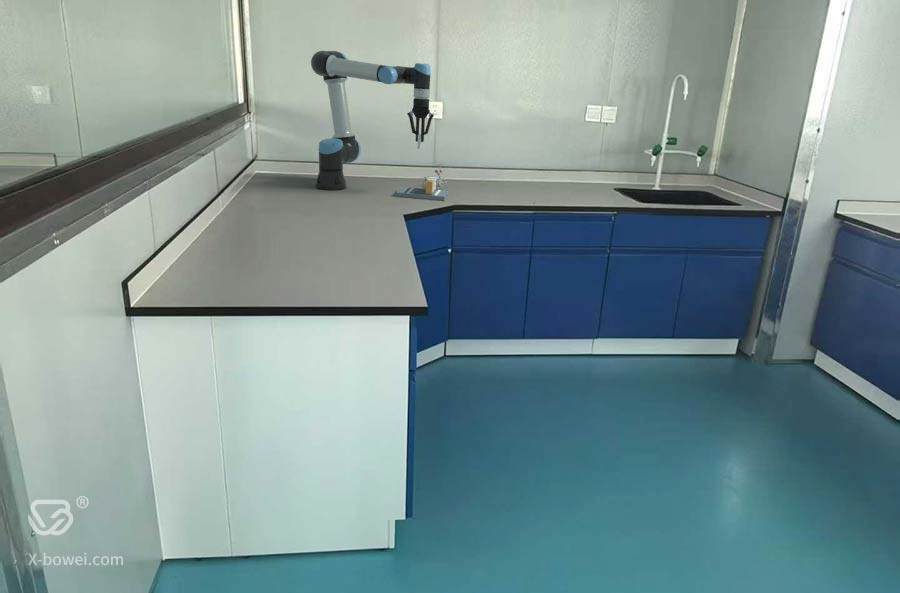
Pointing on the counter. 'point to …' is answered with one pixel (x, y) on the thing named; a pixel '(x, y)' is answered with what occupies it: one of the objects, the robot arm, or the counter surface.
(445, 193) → the breaker panel
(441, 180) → the molecular model
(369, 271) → the counter surface
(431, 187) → the toggle
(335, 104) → the robot arm
